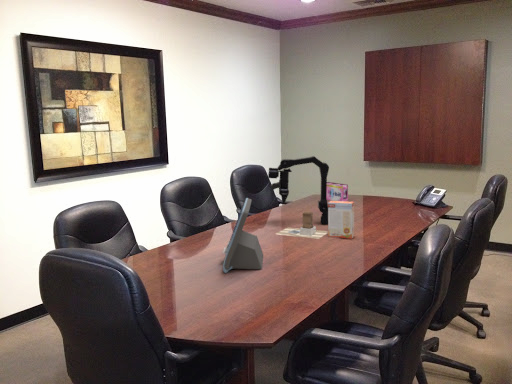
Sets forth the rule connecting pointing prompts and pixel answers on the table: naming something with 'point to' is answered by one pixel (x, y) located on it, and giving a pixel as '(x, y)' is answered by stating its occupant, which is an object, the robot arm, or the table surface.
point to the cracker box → (341, 219)
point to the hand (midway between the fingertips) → (283, 202)
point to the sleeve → (308, 231)
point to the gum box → (337, 192)
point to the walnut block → (308, 220)
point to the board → (297, 233)
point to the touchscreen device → (243, 246)
